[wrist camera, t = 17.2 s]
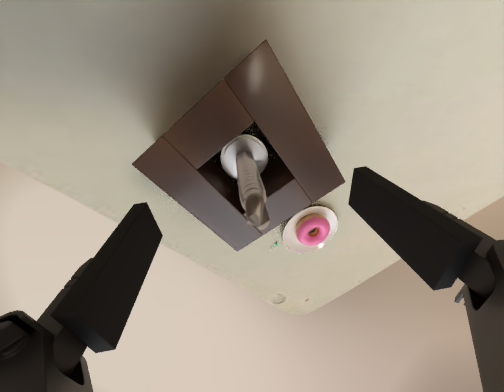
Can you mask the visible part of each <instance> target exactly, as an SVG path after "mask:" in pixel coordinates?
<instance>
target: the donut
mask: <svg viewBox="0 0 504 392" xmlns="http://www.w3.org/2000/svg"><path fill="white" fill-rule="evenodd" d="M337 225H338V221H337V217H336V215H335V213H334V212H333V211H332V210H331V209H329V208H326V207H322V206H313V207H309V208H306V209H303V210H301V211H300V212H298V213H297V214H295V215H294V216H293V217H292V218H291V219H290V220H289V221H288V223H287V224H286V226H285V228H284V231H283V242H284V244H285V246H286V247H287V248H288V249H289V250H290V251H292V252H295V253H301V254H304V253H310V252H314V251H316V250H318V249H320V248H322V247H323V246H325V245H326V244H327V243H328V242H329V241H330V240H331V239H332V238H333V236H334V234H335V233H336V230H337ZM277 245H278V244H277V243H276V246H277ZM273 247H274V246H273ZM272 250H273V248H272ZM268 252H269V251H268Z"/></svg>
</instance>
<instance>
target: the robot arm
mask: <svg viewBox="0 0 504 392" xmlns="http://www.w3.org/2000/svg"><path fill="white" fill-rule="evenodd" d="M349 205H350V206H351V207H352V208H353V209H354V210H355V211H356V212H357V213H358V214H359V215H360V217H361V218H362V219H363V220H364V221H365V222H366V223H367V224H368V225H369V226H370V227H371V228H372V229H373V230H374V231H375V232H376V233H377V234H378V235H379V236H380V237H381V238H382V239H383V240H384V241H385V242H386V243H387V244H388V245H389V246H390V247H391V248H392V249H393V250H394V251H395V252H396V253H397V254H398V255H399V256H400V257H401V258H402V259H403V260H404V261H405V262H406V263H407V264H408V265H409V266H410V267H411V268H412V269H413V270H414V271H415V272H416V273H417V274H418V275H419V276H420V277H421V278H422V279H423V280H424V281H425V282H426V283H427V284H428V285H429V286H430V287H431V288H432V289H433V290H438V289H444V288H449V287H451V286H452V285H453V283H454V282H455V280H456V279H457V277H458V278H459V279H460V280H461V281H462V282H464V283H465V284H464V286H463V287H462V289H461V290H460V292H459V293H458V294H457V296H456V297H455V302H457V303H459V301H460V300H461V299H462V298H463V297H464V301H465V303H464V305H465V306H466V310H467V315H468V320H469V325H470V330H471V334H472V339H473V344H474V349H475V354H476V359H477V363H478V368H479V373H480V378H481V383H482V387H483V392H504V240H495V239H493V238H491V237H490V236H488V235H486V234H485V233H483V232H481V231H480V230H478V229H476V228H474V227H472V226H471V225H469V224H468V223H466V222H464V221H463V220H461V219H458V218H457V217H456V216H454V215H452V214H451V213H448V212H447V211H446V210H444V209H442V208H441V207H439V206H437V205H434V204H432V203H429V202H426V201H421V200H420V199H418V198H416V197H415V196H413V195H412V194H410V193H408V192H407V191H405V190H403V189H402V188H400V187H399V186H397V185H395V184H394V183H392V182H390V181H389V180H387V179H385V178H384V177H382V176H381V175H379V174H377V173H376V172H374V171H372V170H371V169H369V168H367V167H366V166H365V167H359V168H354V172H353V178H352V185H351V191H350V198H349ZM162 236H163V235H162V233H161V231H160V229H159V227H158V225H157V223H156V221H155V219H154V217H153V215H152V213H151V210H150V208H149V206H148V204H147V202H146V203H140V204H134V205H133V206H132V208H131V209H130V210H129V212H128V213H127V214H126V216H125V217H124V218H123V220H122V221H121V222H120V224H119V225H118V227H117V228H116V229H115V230H114V231H113V233H112V234H111V235H110V237H109V238H108V239H107V241H106V242H105V243H104V245H103V246H102V247H101V249H100V250H99V251H98V253H97V254H96V255H95V257H94V258H90V259H89V260H88V261H87V262H85V263H84V264H83V265H82V266H81V267H80V268H79V269H78V270H77V271H76V272H75V274H74V275H73V276H72V277H71V280H69V281H68V282H67V284H66V285H65V286H64V289H62V290H61V291H60V293H59V294H58V295H57V296H56V298H55V299H54V300H53V301H52V303H51V304H50V305H49V306H48V308H47V309H46V310H45V311H44V313H43V314H42V315H41V316H40V318H39V319H38V320H37V321H35V320H34V319H33V318H31V317H30V316H28V315H27V314H26V313H25V312H23V311H18V310H17V311H13V312H9V313H7V314H5V315H3V316H0V392H93V389H92V384H91V379H90V375H89V371H88V366H87V362H86V360H85V358H84V357H83V356H82V355H83V353H84V351H85V349H86V348H87V346H88V347H89V348H90V349H91V350H93V351H94V352H95V353H98V352H103V351H109V350H114V349H116V346H117V344H118V341H119V339H120V337H121V334H122V332H123V329H124V327H125V325H126V322H127V320H128V318H129V315H130V313H131V310H132V308H133V306H134V303H135V301H136V298H137V296H138V294H139V291H140V289H141V286H142V284H143V282H144V279H145V277H146V274H147V272H148V270H149V267H150V265H151V263H152V260H153V257H154V255H155V253H156V251H157V248H158V246H159V243H160V241H161V239H162Z"/></svg>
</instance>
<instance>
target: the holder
mask: <svg viewBox="0 0 504 392" xmlns="http://www.w3.org/2000/svg"><path fill="white" fill-rule="evenodd" d="M254 121H255V123H256V124H257V125H258V127H259V128H260V130H261V131H262V132H263V134H264V135H265V137H266V138H267V139H268V141H269V142H270V144H271V145H272V146H273V148H274V149H275V151H276V152H277V153H278V155H279V156H280V157H278V158H277V159H275V160H274V161H273V162H271V163H270V164H269V165H267V166H266V167H265V169H264V171H263V172H262V173H261V174H260V177H261V180H262V183H263V186H264V189H265V191H266V197H267V199H266V202H265V205H266V209H267V212H268V215H269V219H270V223H269V225H268V227H267V228H265V229H263V230H259V229H258V227H257V226H254V225H250V224H247V218H246V211H245V210H244V208H243V207H242V204H241V201H240V196H239V188H238V185H237V183H236V182H235V181H234V180H233V179H232V178H231V177H230V176H229V175H228V174H227V173H226V172H225V171H224V170H223V168H222V167H221V166H220V165H219V164H218V163H217V162H216V161H215V160H214V159H213V158H212V157H213V156H214V155H215V154H216V153H217V152H219V151H220V150H221V149H222V148H224V147H225V146H226V145H227V144H228V143H230V142H231V141H232V140H233V139H234V138H236V137H237V136H238V135H239V134H241V133H242V132H243V131H244V130H245V129H247V128H248V127H249V126H250V125H252V124H253V123H254ZM132 165H133V166H134V167H135V168H137V169H138V170H139V171H140V172H141V173H143V174H144V175H145V176H146V177H148V178H149V179H150V180H151V181H152V182H154V183H155V184H156V185H157V186H158V187H160V188H161V189H162V190H163V191H164V192H166V193H167V194H168V195H169V196H171V197H172V198H173V199H174V200H175V201H177V202H178V203H179V204H180V205H181V206H183V207H184V208H185V209H186V210H188V211H189V212H190V213H191V214H192V215H194V216H195V217H196V218H197V219H198V220H200V221H201V222H202V223H203V224H205V225H206V226H207V227H208V228H209V229H211V230H212V231H213V232H214V233H215V234H217V235H218V236H219V237H220V238H222V239H223V240H224V241H225V242H226V243H228V244H229V245H230V246H231V247H232V248H234V249H235V250H236V251H239V250H241V249H242V248H244V247H245V246H247V245H248V244H250V243H251V242H253V241H255V240H256V239H258V238H259V237H261V236H262V235H264V234H265V233H267V232H268V231H270V230H272V229H273V228H275V227H276V226H278V225H279V224H281V223H282V222H284V221H285V220H287V219H289V218H290V217H292V216H293V215H295V214H296V213H298V212H299V211H301V210H302V209H304V208H306V207H307V206H309V205H310V204H312V203H313V202H315V201H317V200H318V199H320V198H321V197H323V196H324V195H326V194H327V193H329V192H331V191H332V190H334V189H335V188H337V187H338V186H340V185H341V184H343V183H344V182H345V180H344V178H343V176H342V175H341V173H340V171H339V169H338V167H337V166H336V164H335V162H334V160H333V159H332V157H331V155H330V153H329V151H328V150H327V148H326V146H325V144H324V142H323V141H322V139H321V137H320V135H319V133H318V132H317V130H316V128H315V126H314V124H313V123H312V121H311V119H310V117H309V115H308V114H307V112H306V110H305V108H304V106H303V105H302V103H301V101H300V99H299V97H298V96H297V94H296V92H295V90H294V88H293V87H292V85H291V83H290V81H289V79H288V78H287V76H286V74H285V72H284V70H283V69H282V67H281V65H280V63H279V61H278V60H277V58H276V56H275V54H274V52H273V51H272V49H271V47H270V45H269V44H268V42H267V40H264V41H263V42H262V43H261V44H260V45H259V46H258V47H257V48H256V49H255V50H254V51H253V52H252V53H251V54H249V55H248V56H247V57H246V58H245V59H244V60H243V61H242V62H241V63H240V64H239V65H238V66H237V67H235V68H234V69H233V70H232V71H231V72H230V73H229V74H228V75H227V76H226V77H225V78H224V79H223V80H221V81H220V82H219V83H218V84H217V85H216V86H215V87H214V88H213V89H212V90H211V91H210V92H209V93H207V94H206V95H205V96H204V97H203V98H202V99H201V100H200V101H199V102H198V103H197V104H196V105H195V106H194V107H192V108H191V109H190V110H189V111H188V112H187V113H186V114H185V115H184V116H183V117H182V118H181V119H180V120H178V121H177V122H176V123H175V124H174V125H173V126H172V127H171V128H170V129H169V130H168V131H167V132H166V133H164V134H163V135H162V136H161V137H160V138H159V139H158V140H157V141H156V142H155V143H154V144H153V145H152V146H150V147H149V148H148V149H147V150H146V151H145V152H144V153H143V154H142V155H141V156H140V157H139V158H138V159H137V160H135V161H134V162H133V163H132Z"/></svg>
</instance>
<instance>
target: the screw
mask: <svg viewBox="0 0 504 392" xmlns="http://www.w3.org/2000/svg"><path fill="white" fill-rule="evenodd" d="M267 162H268V153H267V150H266V147H265V145H264V144H263V142H262V141H261V140H259V139H258V138H257V137H255V136H252V135H249V134H241V135H238V136H237V137H236V138H234V139H233V140H232V141H231V142H230V143H228V144H227V145H226V146H225V147H224V148H223V149H222V152H221V164H222V166H223V169H224V170H225V172H226V173H227V174H228V175H229V176H231V177H233V178H235V179H238V188H239V196H240V201H241V204H242V207H243V208H244V210H245V211H246V218H247V224H250V225H254V226H257V227H258V229H259V230H263V229H265V228H267V227H268V225H269V223H270V219H269V215H268V212H267V209H266V205H265V202H266V199H267V197H266V191H265V189H264V186H263V183H262V180H261V177H260V174H261V173H262V172H263V171H264V169H265V167H266V165H267Z"/></svg>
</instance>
